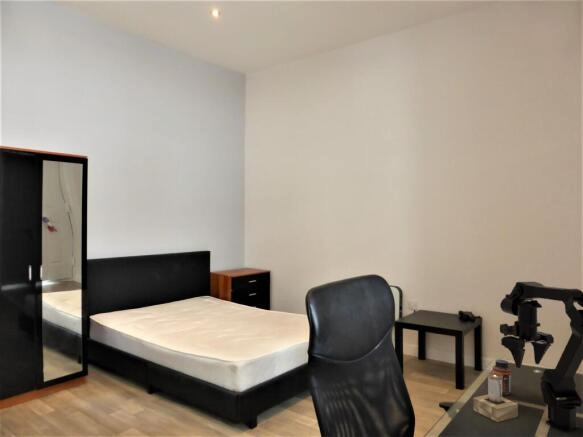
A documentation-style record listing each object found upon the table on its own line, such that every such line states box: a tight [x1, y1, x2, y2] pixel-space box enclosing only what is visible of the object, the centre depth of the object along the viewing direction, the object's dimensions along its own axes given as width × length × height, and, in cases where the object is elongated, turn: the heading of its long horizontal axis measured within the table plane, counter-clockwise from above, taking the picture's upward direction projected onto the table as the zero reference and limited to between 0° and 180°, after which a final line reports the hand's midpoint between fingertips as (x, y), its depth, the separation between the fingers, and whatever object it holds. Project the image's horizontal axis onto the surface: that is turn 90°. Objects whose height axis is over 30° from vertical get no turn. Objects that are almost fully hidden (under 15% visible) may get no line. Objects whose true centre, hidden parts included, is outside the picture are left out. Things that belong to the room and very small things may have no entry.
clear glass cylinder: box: [486, 371, 503, 405], centre depth 133 cm, size 4×4×12 cm
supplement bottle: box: [492, 359, 512, 396], centre depth 150 cm, size 6×6×11 cm
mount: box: [472, 394, 519, 423], centre depth 133 cm, size 9×9×4 cm
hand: (527, 365), depth 139 cm, fingers open, 9 cm apart
